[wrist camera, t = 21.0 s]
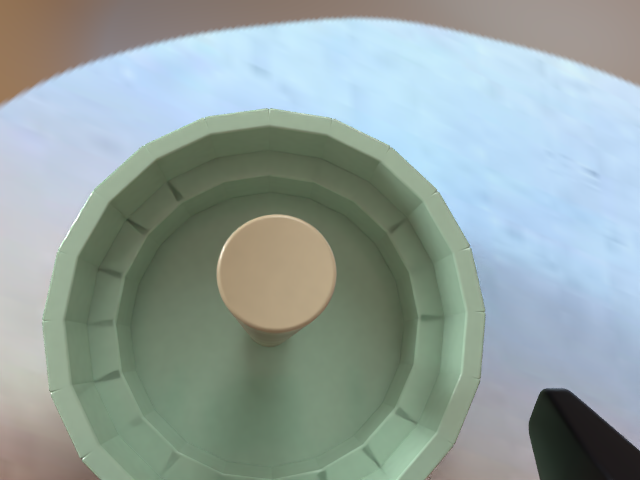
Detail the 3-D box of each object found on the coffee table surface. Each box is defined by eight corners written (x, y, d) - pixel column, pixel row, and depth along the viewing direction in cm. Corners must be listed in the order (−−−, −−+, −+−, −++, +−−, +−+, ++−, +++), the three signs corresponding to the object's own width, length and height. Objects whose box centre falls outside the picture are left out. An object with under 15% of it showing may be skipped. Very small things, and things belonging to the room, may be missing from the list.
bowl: (469, 465, 22) (529, 497, 17) (117, 541, 20) (70, 601, 15) (399, 140, 24) (434, 84, 19) (75, 188, 22) (22, 141, 17)
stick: (301, 316, 21) (360, 254, 8) (276, 356, 21) (295, 357, 8) (263, 292, 21) (260, 190, 8) (237, 330, 21) (191, 289, 8)
